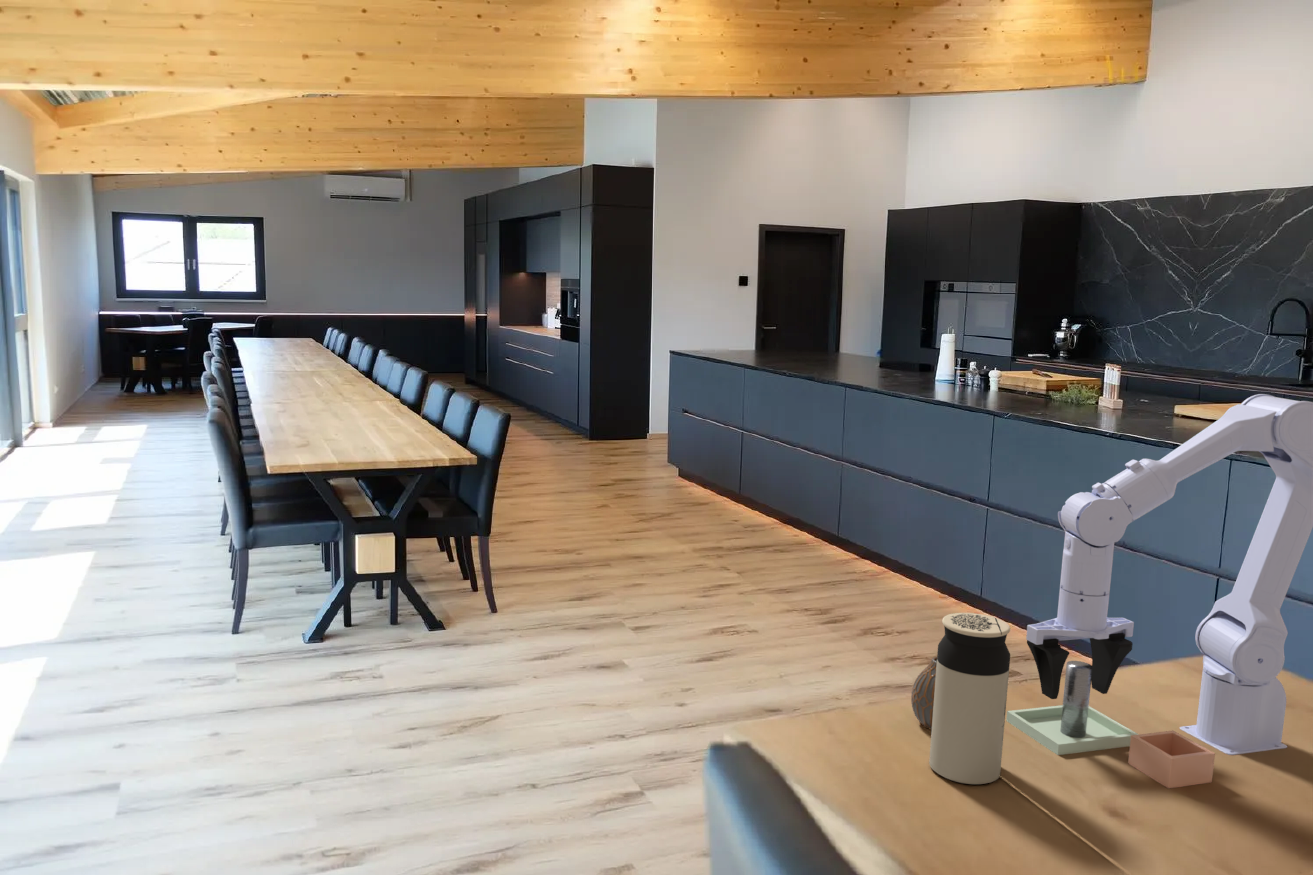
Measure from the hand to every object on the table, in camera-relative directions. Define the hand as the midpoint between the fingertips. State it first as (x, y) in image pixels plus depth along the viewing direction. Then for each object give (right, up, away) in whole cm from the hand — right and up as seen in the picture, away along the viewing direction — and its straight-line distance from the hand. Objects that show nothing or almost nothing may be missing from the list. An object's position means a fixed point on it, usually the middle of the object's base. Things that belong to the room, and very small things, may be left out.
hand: (1074, 693), depth 127 cm
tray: (0, -6, +1) cm, 6 cm away
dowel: (0, -5, 0) cm, 5 cm away
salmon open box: (+7, -7, -9) cm, 14 cm away
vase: (-17, -5, +3) cm, 18 cm away
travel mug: (-17, -7, -9) cm, 21 cm away
